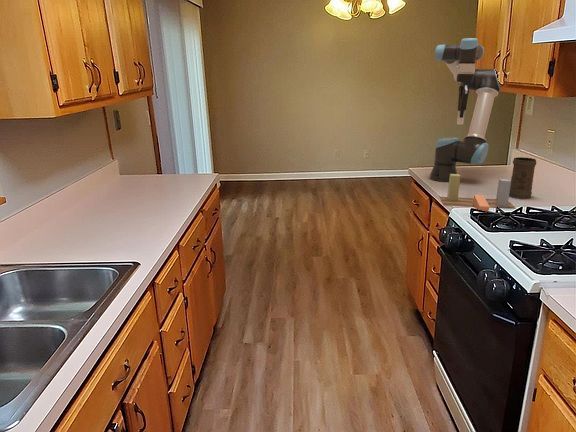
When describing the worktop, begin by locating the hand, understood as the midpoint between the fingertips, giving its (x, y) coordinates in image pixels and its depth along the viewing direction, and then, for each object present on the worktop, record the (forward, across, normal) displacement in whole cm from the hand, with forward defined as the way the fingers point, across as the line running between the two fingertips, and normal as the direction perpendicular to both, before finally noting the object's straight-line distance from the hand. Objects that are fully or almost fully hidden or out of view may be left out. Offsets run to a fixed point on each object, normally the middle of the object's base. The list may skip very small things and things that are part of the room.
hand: (460, 124), depth 222 cm
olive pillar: (+33, +18, -3) cm, 38 cm away
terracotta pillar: (+31, +24, +7) cm, 40 cm away
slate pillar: (+33, +25, +17) cm, 45 cm away
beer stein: (+35, +4, +30) cm, 46 cm away
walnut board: (+34, +21, +7) cm, 41 cm away
